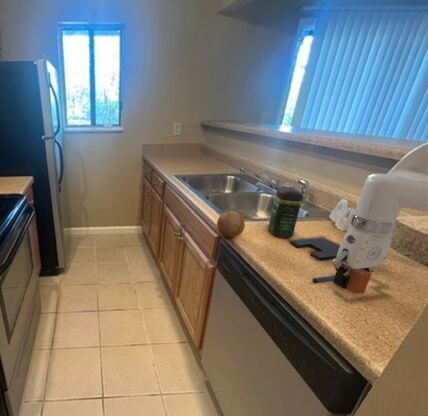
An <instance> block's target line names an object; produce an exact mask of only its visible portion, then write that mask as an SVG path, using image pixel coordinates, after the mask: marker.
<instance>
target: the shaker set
mask: <svg viewBox="0 0 428 416" xmlns="http://www.w3.org/2000/svg"><path fill="white" fill-rule="evenodd" d="M348 204H349V203H348V199H344V198H343V199H341V200H340V201H339V202H338V203H337V204H336V206H335V207H334V208H333V210H332V211H331V213H329V216H328V218H329V219H330V220H331V221H332V222H334V226H335V227H336V229H338V230H339V231H342V232H347V231H348V229H349V227H351V226H350V224H351V221H352V218H353V215H354V213H355V210H356V208H353V207H348Z"/></svg>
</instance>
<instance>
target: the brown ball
mask: <svg viewBox="0 0 428 416" xmlns="http://www.w3.org/2000/svg"><path fill="white" fill-rule="evenodd" d="M245 227H246V225H245V220H244V218H243V216H242V215H241V214H240V213H238V212H237V211H226V212H223V213H222V214H220V215H219V217H218V218H217V220H216V228H217V230H218V232H219V234H221V235H222V236H223V237H226V238H235V237H238V236H240V235H242V233H243V232H244V231H245Z"/></svg>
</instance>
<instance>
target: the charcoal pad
mask: <svg viewBox="0 0 428 416" xmlns="http://www.w3.org/2000/svg"><path fill="white" fill-rule="evenodd" d="M289 245H291V246H292V247H295V248H296V249H303V248H311V249H313V250H314V251H311V252H310V253H309V256H310V257H312V258H313V259H315V260H317V261H318V262H321V261H329V260H334V259H335V258H336V257H337V253H338V250H339V247H340V245H341V244H340V245H339V244H338V243H335V242H333V241H332V240H329V239H328V238H325V237H323V236H322V237H313V238H305V239H303V238H302V239H296V240H290V242H289Z"/></svg>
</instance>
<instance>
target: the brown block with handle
mask: <svg viewBox="0 0 428 416" xmlns="http://www.w3.org/2000/svg"><path fill="white" fill-rule="evenodd" d="M346 262H347V261H346ZM347 263H348V262H347ZM343 267H344V268H345V269H347V268H348V266H346V265H345V264H344V266H343ZM349 276H350V279H349V282H348V285H347V287H346V290H347V291H349V292H351V293H352V294H354V295H357V294H364V293H365V291H366V288H367V286H368V284H369V282H370V279H371V276H372V273H370V272H368V271H366V270H364V269H362V268H360V269H353V270H352V271H351V273H350V274H349ZM334 277H335V275H328V276H322V277H320V276H319V277H314V278H312V281H311V282H312V283H314V284H322V283H330V282H333V280H334Z"/></svg>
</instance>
